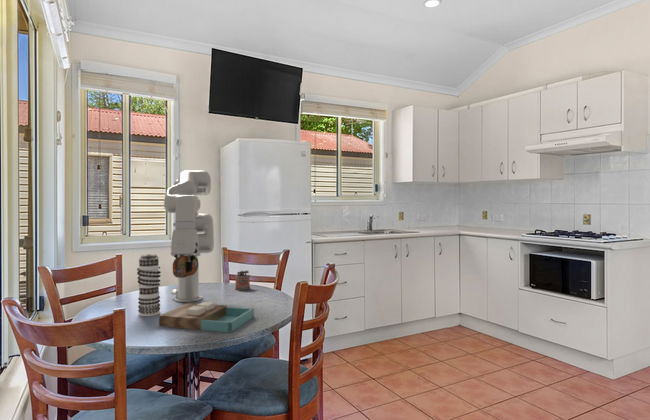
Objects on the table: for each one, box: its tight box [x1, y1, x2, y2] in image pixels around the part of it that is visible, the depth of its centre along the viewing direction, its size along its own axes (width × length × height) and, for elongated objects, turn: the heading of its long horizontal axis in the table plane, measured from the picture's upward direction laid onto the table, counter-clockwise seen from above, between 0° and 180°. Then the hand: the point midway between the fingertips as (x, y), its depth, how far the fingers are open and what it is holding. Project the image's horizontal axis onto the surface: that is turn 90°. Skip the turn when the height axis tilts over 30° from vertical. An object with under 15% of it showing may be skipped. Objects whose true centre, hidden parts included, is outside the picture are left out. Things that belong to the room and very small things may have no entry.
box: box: [200, 306, 255, 333], centre depth 160 cm, size 12×20×4 cm, turn 166°
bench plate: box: [158, 302, 228, 331], centre depth 164 cm, size 18×20×4 cm
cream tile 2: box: [197, 301, 216, 311], centre depth 166 cm, size 5×5×2 cm
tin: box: [172, 255, 199, 279], centre depth 165 cm, size 15×3×8 cm, turn 166°
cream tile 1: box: [187, 306, 205, 315], centre depth 159 cm, size 5×5×2 cm
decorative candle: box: [136, 253, 162, 317], centre depth 173 cm, size 9×9×25 cm
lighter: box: [234, 270, 251, 291], centre depth 221 cm, size 8×3×10 cm, turn 117°
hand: (185, 271), depth 165 cm, fingers closed on tin, 2 cm apart
